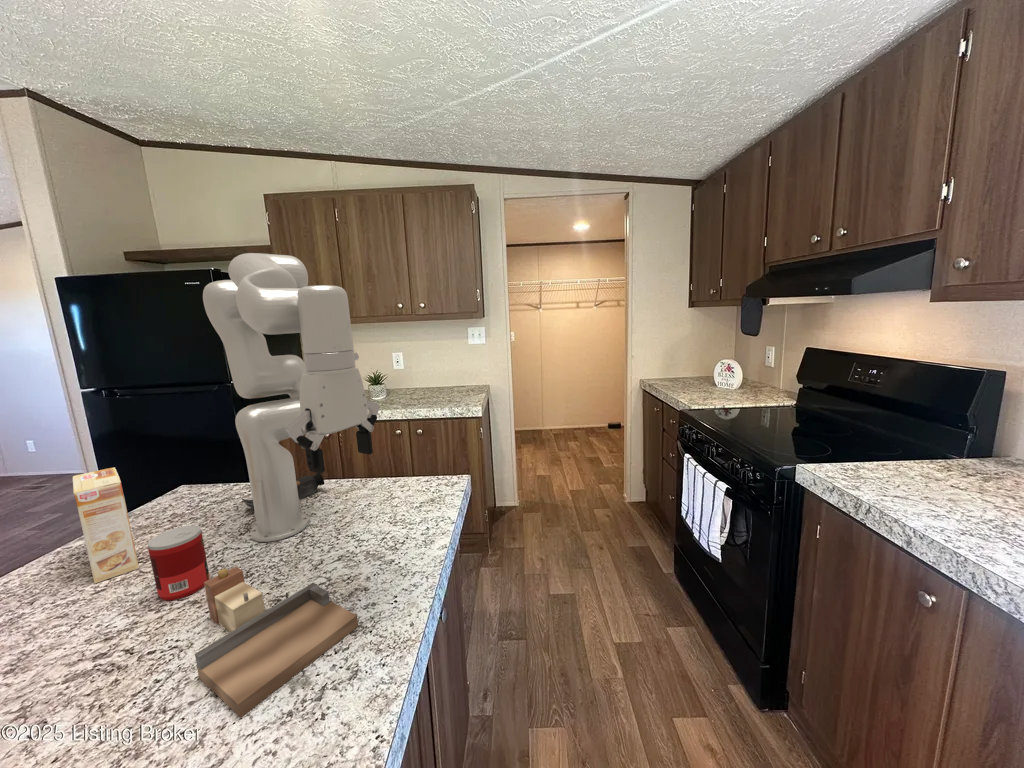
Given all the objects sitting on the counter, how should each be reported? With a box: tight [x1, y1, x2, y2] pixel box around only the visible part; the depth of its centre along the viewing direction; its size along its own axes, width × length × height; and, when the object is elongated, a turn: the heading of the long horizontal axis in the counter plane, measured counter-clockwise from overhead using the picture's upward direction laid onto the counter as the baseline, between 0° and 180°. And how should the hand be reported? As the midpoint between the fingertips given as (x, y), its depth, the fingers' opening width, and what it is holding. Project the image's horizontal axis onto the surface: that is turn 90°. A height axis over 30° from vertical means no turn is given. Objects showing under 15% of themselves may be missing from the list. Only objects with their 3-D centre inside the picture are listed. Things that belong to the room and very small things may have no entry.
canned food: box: [147, 525, 210, 601], centre depth 80 cm, size 8×8×11 cm
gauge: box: [204, 566, 266, 633], centre depth 71 cm, size 9×5×8 cm, turn 58°
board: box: [194, 582, 359, 718], centre depth 63 cm, size 12×18×4 cm, turn 148°
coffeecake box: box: [72, 467, 140, 584], centre depth 89 cm, size 15×7×20 cm, turn 47°
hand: (342, 462), depth 71 cm, fingers open, 9 cm apart
